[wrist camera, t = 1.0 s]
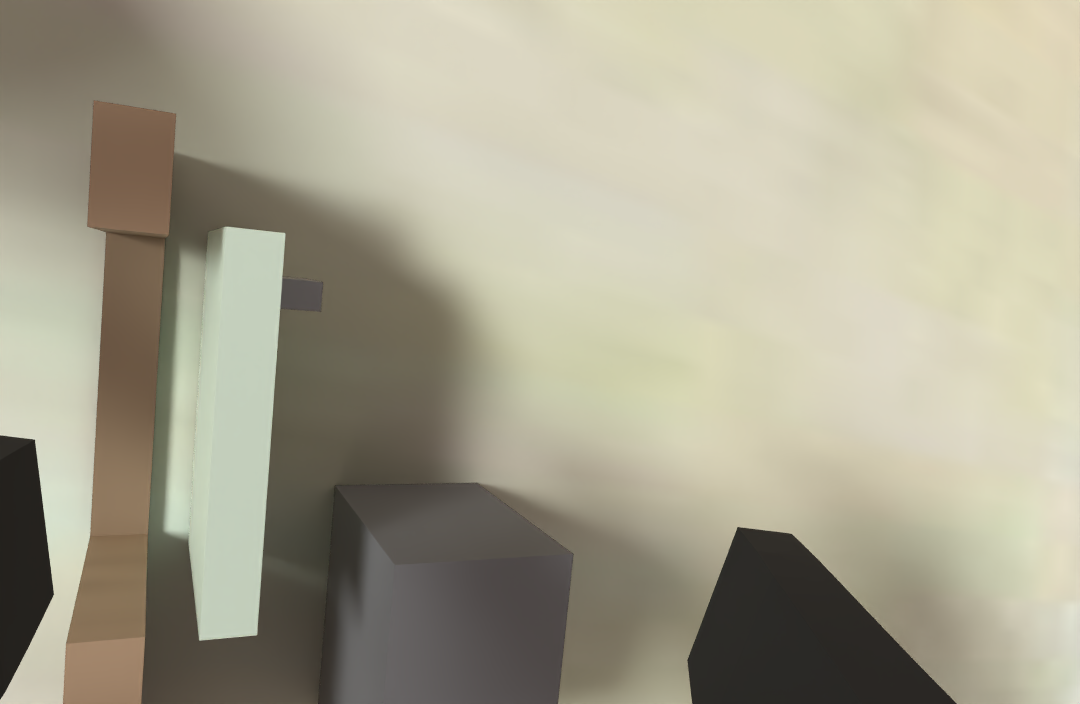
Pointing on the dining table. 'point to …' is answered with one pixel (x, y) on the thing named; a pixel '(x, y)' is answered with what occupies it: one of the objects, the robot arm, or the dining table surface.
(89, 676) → the wall
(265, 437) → the door
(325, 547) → the dining table surface
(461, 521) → the block
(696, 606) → the dining table surface
